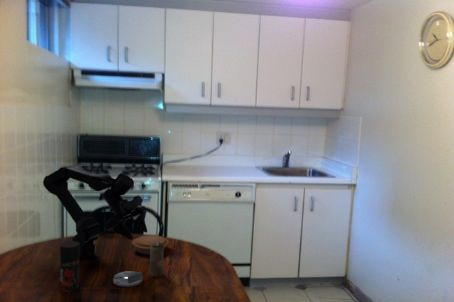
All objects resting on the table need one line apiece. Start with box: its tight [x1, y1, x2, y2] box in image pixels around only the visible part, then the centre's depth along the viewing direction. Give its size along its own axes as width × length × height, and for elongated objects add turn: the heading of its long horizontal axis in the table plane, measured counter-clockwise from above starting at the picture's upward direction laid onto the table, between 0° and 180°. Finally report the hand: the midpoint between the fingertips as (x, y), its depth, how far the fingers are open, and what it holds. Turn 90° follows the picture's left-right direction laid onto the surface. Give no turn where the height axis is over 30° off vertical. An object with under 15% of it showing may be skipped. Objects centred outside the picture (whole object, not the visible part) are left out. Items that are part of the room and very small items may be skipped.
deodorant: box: [59, 240, 80, 293], centre depth 127 cm, size 6×6×15 cm
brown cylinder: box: [149, 242, 165, 278], centre depth 141 cm, size 5×5×12 cm
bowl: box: [113, 270, 144, 288], centre depth 135 cm, size 10×10×4 cm
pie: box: [131, 234, 170, 256], centre depth 165 cm, size 16×16×5 cm
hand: (139, 235), depth 143 cm, fingers open, 9 cm apart
